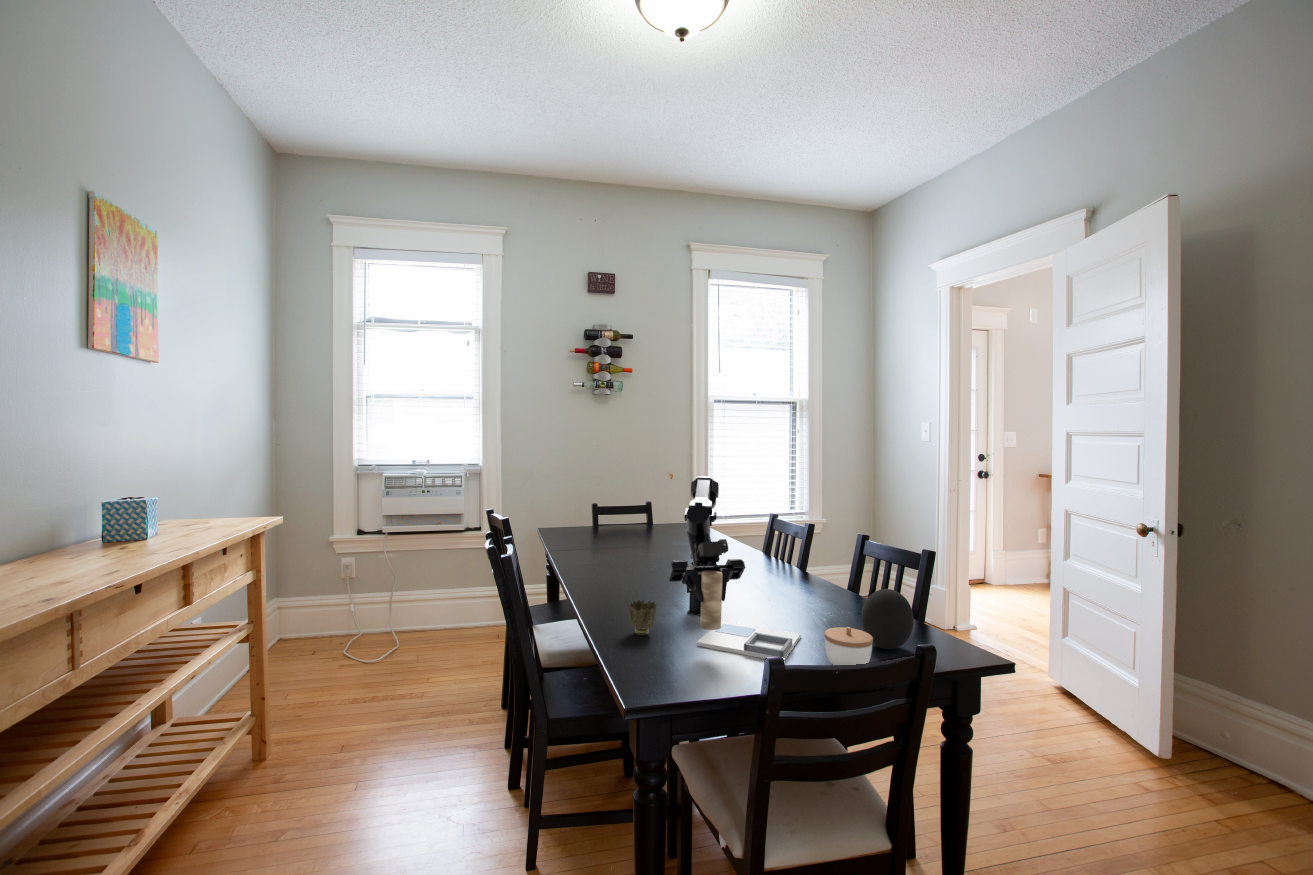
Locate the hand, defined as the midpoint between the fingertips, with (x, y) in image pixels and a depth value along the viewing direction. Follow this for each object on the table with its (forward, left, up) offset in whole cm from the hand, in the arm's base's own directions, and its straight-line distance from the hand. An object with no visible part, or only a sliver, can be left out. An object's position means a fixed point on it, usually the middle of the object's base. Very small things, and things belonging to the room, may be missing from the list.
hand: (713, 600), depth 145 cm
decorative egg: (+37, +27, -14) cm, 48 cm away
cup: (-22, +6, -14) cm, 27 cm away
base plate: (+5, +15, -13) cm, 20 cm away
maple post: (-1, +1, -7) cm, 7 cm away
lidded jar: (+30, +9, -14) cm, 34 cm away
